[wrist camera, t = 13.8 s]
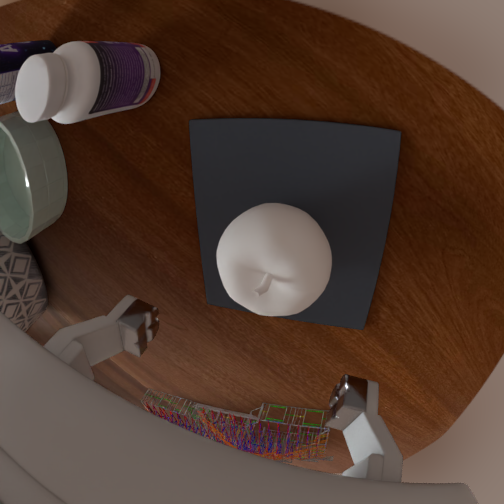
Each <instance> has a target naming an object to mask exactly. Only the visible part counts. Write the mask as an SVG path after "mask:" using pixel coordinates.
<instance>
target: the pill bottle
mask: <svg viewBox="0 0 504 504" xmlns="http://www.w3.org/2000/svg"><path fill="white" fill-rule="evenodd" d="M159 80H160V64H159V61H158V58H157V56H156V54H155V53H154V52H153V51H152V50H151V49H150V48H149V47H147V46H145V45H142V44H137V43H127V42H106V41H74V42H68V43H66V44H63V45H62V46H60V47H59V48H57V49H56V50H55V51H54V52H53V53H44V54H36V55H32V56H30V57H29V58H28V59H27V60H26V61H25V62H24V63H23V65H22V67H21V69H20V71H19V73H18V77H17V81H16V87H15V97H16V104H17V108H18V111H19V113H20V115H21V116H22V118H23V119H24V120H25V121H27V122H31V123H33V122H38V121H42V120H47V119H50V118H52V119H53V120H54V121H56V122H58V123H62V124H70V123H75V122H79V121H83V120H86V119H90V118H94V117H98V116H102V115H106V114H111V113H115V112H120V111H125V110H129V109H133V108H137V107H139V106H141V105H143V104H145V103H146V102H147V101H148V100H149V99H150V98H151V97H152V96H153V94H154V93H155V91H156V89H157V87H158V84H159Z"/></svg>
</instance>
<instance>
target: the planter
mask: <svg viewBox="0 0 504 504" xmlns="http://www.w3.org/2000/svg"><path fill="white" fill-rule="evenodd" d="M47 304H48V295H47V290H46V286H45V282H44V279H43V276H42V273H41V271H40V269H39V266H38V264H37V262H36V260H35V258H34V256H33V254H32V252H31V250H30V248H29V246H28V245H27V243H26V241H25V242H23V243H21V244H19V243H15V242H12V241H11V240H9V239H8V238H7V237H6V236H4V235H3V234H2V232H1V231H0V311H1V312H2V313H3V314H4V315H5V316H6V317H8V318H9V319H10V320H11V321H12V322H13V323H14V324H16V325H17V326H18V327H19V328H20V329H22V330H23V331H24V332H25V331H26V330H27V329H28V328H29V327H30V326H31V325H32V324H33V323H34V322H35V321H36V320H37V319H38V318H39V317H40V316H41V315H42V314H43V313H44V311H45V310H46V308H47Z"/></svg>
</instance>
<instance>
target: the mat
mask: <svg viewBox="0 0 504 504" xmlns="http://www.w3.org/2000/svg"><path fill="white" fill-rule="evenodd" d="M189 131H190V145H191V158H192V171H193V182H194V193H195V204H196V214H197V224H198V233H199V242H200V251H201V259H202V267H203V275H204V283H205V290H206V298H207V304H210V305H215V306H220V307H225V308H230V309H235V310H241V311H246V312H251V313H254V312H252V311H250V310H249V309H247V308H245V307H244V306H242V305H240V304H238V303H237V302H235V301H234V300H233V299H232V298H231V297H230V296H229V295H228V293H227V291H226V289H225V288H224V286H223V283H222V280H221V277H220V274H219V270H218V267H217V257H216V253H217V248H218V244H219V241H220V238H221V236H222V235H223V233H224V231H225V229H226V228H227V227H228V226H229V225H230V223H231V222H232V221H233V220H234V219H236V218H237V217H238V216H240V215H241V214H242V213H244V212H246V211H247V210H249V209H251V208H252V207H255V206H258V205H261V204H264V203H280V204H286V205H290V206H293V207H296V208H299V209H301V210H302V211H304V212H306V213H308V214H309V215H310V216H311V217H312V218H313V219H314V220H315V221H316V222H317V223H318V225H319V226H320V228H321V229H322V231H323V232H324V234H325V236H326V238H327V240H328V242H329V245H330V249H331V253H332V268H331V273H330V278H329V281H328V283H327V285H326V287H325V290H324V291H323V292H322V294H321V295H320V296H319V297H318V298H317V300H316V301H315V302H313V303H312V304H311V305H310V306H309V307H308V308H306V309H304V310H303V311H301V312H299V313H297V314H292V315H288V316H274V317H279V318H285V319H291V320H298V321H304V322H310V323H317V324H323V325H330V326H337V327H344V328H352V329H359V330H363V329H364V326H365V323H366V319H367V316H368V312H369V308H370V305H371V301H372V297H373V293H374V290H375V286H376V282H377V278H378V273H379V269H380V265H381V260H382V256H383V251H384V246H385V242H386V237H387V231H388V226H389V221H390V215H391V209H392V203H393V197H394V190H395V184H396V176H397V169H398V160H399V151H400V141H401V131H398V130H392V129H385V128H378V127H371V126H364V125H355V124H346V123H337V122H326V121H313V120H297V119H273V118H216V119H192V120H189Z"/></svg>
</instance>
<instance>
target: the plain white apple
mask: <svg viewBox="0 0 504 504" xmlns="http://www.w3.org/2000/svg"><path fill="white" fill-rule="evenodd" d="M216 257H217V267H218V270H219V274H220V277H221V280H222V283H223V286H224V288H225V289H226V291H227V293H228V295H229V296H230V297H231V298H232V299H233V300H234V301H235V302H237V303H238V304H240V305H242V306H244V307H245V308H247V309H249V310H250V311H252V312H254V313H256V314H259V315H264V316H288V315H292V314H297V313H299V312H301V311H303V310H304V309H306V308H308V307H309V306H310V305H311V304H312V303H313V302H315V301H316V300H317V298H318V297H319V296H320V295H321V294H322V292H323V291H324V290H325V287H326V285H327V283H328V281H329V278H330V273H331V268H332V253H331V249H330V245H329V242H328V240H327V238H326V236H325V234H324V232H323V231H322V229H321V228H320V226H319V225H318V223H317V222H316V221H315V220H314V219H313V218H312V217H311V216H310V215H309V214H308V213H306V212H304V211H302V210H301V209H299V208H296V207H293V206H290V205H286V204H280V203H264V204H261V205H258V206H255V207H252V208H251V209H249V210H247V211H246V212H244V213H242V214H241V215H240V216H238V217H237V218H236V219H234V220H233V221H232V222H231V223H230V225H229V226H228V227H227V228H226V229H225V231H224V233H223V235H222V236H221V238H220V241H219V244H218V248H217V253H216Z"/></svg>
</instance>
